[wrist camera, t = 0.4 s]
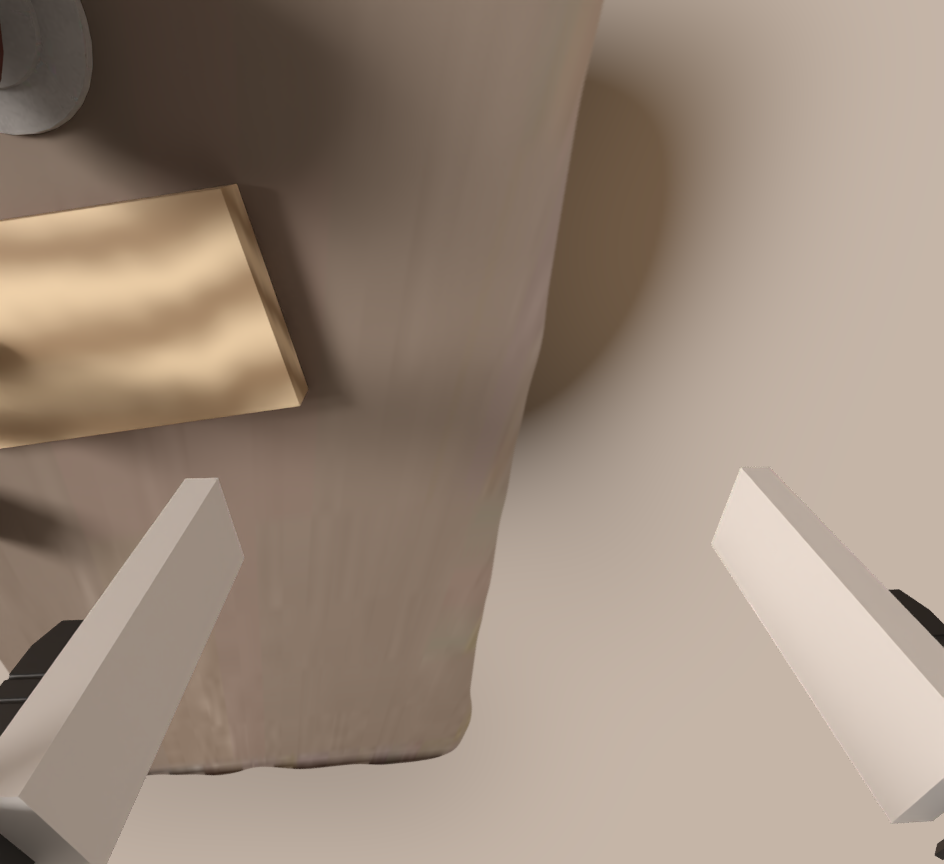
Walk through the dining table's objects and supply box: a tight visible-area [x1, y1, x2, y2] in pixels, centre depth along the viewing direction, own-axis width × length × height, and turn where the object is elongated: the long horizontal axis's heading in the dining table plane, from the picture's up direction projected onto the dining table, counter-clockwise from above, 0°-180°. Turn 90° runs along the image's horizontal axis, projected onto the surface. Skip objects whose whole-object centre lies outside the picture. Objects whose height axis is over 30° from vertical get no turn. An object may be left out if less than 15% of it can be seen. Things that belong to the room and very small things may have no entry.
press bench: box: [0, 184, 308, 449], centre depth 32 cm, size 16×31×14 cm, turn 98°
